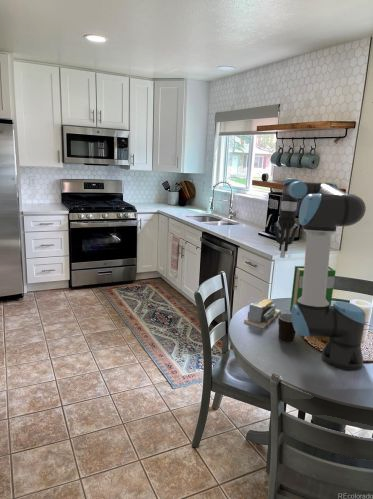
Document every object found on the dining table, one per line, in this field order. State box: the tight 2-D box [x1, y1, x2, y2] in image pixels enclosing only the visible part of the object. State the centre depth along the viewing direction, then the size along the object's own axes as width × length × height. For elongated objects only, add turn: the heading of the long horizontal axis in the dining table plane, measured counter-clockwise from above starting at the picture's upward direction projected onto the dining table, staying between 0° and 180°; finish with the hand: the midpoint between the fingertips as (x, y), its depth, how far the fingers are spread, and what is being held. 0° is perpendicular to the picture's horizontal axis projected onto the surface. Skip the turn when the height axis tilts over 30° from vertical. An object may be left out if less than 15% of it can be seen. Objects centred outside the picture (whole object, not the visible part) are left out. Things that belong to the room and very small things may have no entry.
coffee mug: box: [277, 313, 297, 343], centre depth 168 cm, size 12×9×10 cm
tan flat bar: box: [256, 298, 274, 312], centre depth 187 cm, size 2×5×14 cm
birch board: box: [243, 308, 282, 329], centre depth 188 cm, size 22×10×2 cm, turn 147°
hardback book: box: [289, 265, 336, 312], centre depth 193 cm, size 18×7×24 cm, turn 95°
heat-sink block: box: [247, 302, 277, 324], centre depth 186 cm, size 19×9×8 cm, turn 147°
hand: (282, 257), depth 193 cm, fingers closed
